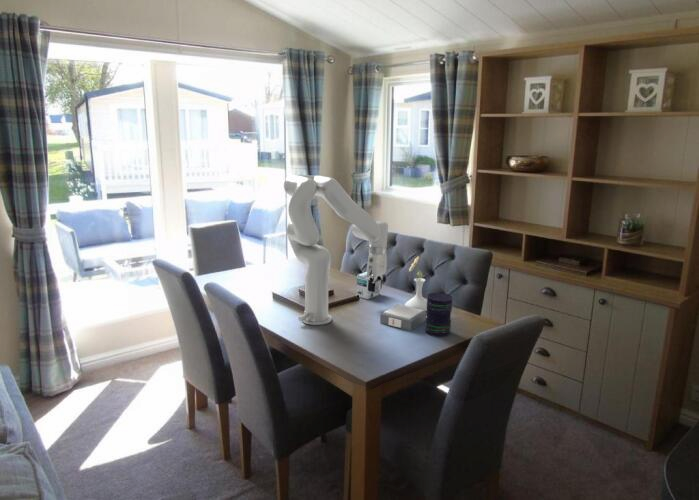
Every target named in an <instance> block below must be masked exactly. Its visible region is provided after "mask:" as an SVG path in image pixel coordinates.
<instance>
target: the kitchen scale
mask: <svg viewBox="0 0 699 500" xmlns="http://www.w3.org/2000/svg"><path fill="white" fill-rule="evenodd" d="M379 317H380V318H379V319H380V321H379V322H380V324H382V325H384V326H385V325H387V326H390V327H394V328H397V329H402V330H404V331H405V330H406V331H409V332H411V331H413V330H414V329H416V328H417V327H419V326H420V325H421V324H424V323H426V318H427V311H423V310H421V309H416V308H412V307H408V306H405V305H402V304H396V305H394V306H392V307H391V308H389V309H387V310H385V311H383V312H381V313H380V316H379Z"/></svg>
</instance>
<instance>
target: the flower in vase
mask: <svg viewBox="0 0 699 500" xmlns="http://www.w3.org/2000/svg"><path fill="white" fill-rule="evenodd" d="M419 260H420V256H417V257H416V258H414V260H413V263H411V266H410V267H409V268H408V272H412V271H413V270H414V268H415V267H416V269H417V272H416V275H417V277H416V278H414V279H413V280H414V282H415V285H416V292H415V293H416V294H415V296H413V297H412V298H410V299H408V301H406V303H405V305H404V306H408V307H412V308H416V309H421V310H423V311H425V312H427V299H425V298H424V297H423V294H422V293H423V292H422V291H423V290H422V289H423V286H424V285H423V284H424V283H425V282H426V279H425V278H422V277H423V272H422V271H421V270H420V269H419V267H418V262H419Z"/></svg>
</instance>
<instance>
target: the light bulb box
mask: <svg viewBox="0 0 699 500" xmlns="http://www.w3.org/2000/svg"><path fill="white" fill-rule="evenodd" d="M366 275H367V271H365V272H362V273H358V274H357V275H356V276H357V277H356V296H357V295H359V297H358V298H361V299H364V300H365V299H366V300H369V299H372V298H374V297H377V296H379V295H380V294H381V291H380V292H379V293H373V292H370V291H368V279H367V278H366ZM372 276H373V274H372ZM371 278H372V279H373V277H371ZM375 279H376V278H375Z"/></svg>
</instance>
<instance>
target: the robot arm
mask: <svg viewBox="0 0 699 500" xmlns="http://www.w3.org/2000/svg"><path fill="white" fill-rule="evenodd" d="M283 188H284V192H285V193H286V194H287V195H289V196H291V197H290V200H289V203H288V216H289V219H290V221H289V223H288V224H287V226H286V235H287V239H288V241H289V244H290V247H291V248H292V251H293V253H294V256H295V257H296V259H297V260H298V262H299V263H301V264H303V265H305V266H307V270H306V273H305V277H304V278H305V279H304V282H305V283H304V285H305V286H304V311H303V314H302V315H300V316H298V321H299V322H301V323H304V324H306V325H311V326H322V325H323V326H324V325H326V324H329V323H330V322H332V320H333V317H332V316H331V315H330V314H329V285H330V284H329V282H330V281H329V278H330V277H329V275H330V268H331V263H332V255H331V253H330V251H329V249H327V248H326V247H325V246H323V245H320V244H317V243H318V242H319V240H320V231H319V228H318V226H317V224H316V222H315V218H314V216H313V214H312V209H311V204H312V201H313V199H314V197H320V198H322V199H323V200H325V202H326V203H327V204H328V205H329V206H330V208H331V209H332V211H334V212H335V213H336V214H337V216H338V217H340V218H342V219H343V220H345V221H346V222H349V223H350V224H352V226H351V232H352V235H353V236H355V237H356V238H358V239H360V240H364V241H366V242H369V243H368V244H369V245H368V257H367V265H366V272H367V275H366V278H367V279H368V291H371V292H375V278H376V279H380V280H381V289H383V288H382V285H383V280H384V276H385V274H386V273H387V270H388V269H387V266H388V256H387V245H388V235H389V234H388V231H389V224H388V222H386V221H384V220H383V221H382V220H375V219H374V218H373V217H372V215H371V214H370V213H368V212H367V211H366V210H365V209H363V208H362V206H360V205H359V204H358V203H357V202H355V201H354V200H353V199H352V197H351V196H350V195H349V194H348V192H347V191H346V190H345V189H344V188H343V187H342V185H341V184H340V183H339V181H338V180H337V179H335V178H333V177H331V176H326V175H325V176H324V175H309V174H308V175H306V174H305V175H304V174H291V175H289V176H287V177H286V179H285V181H284V183H283ZM372 274H373V276H372ZM371 277H373V279H372V278H371Z"/></svg>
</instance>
